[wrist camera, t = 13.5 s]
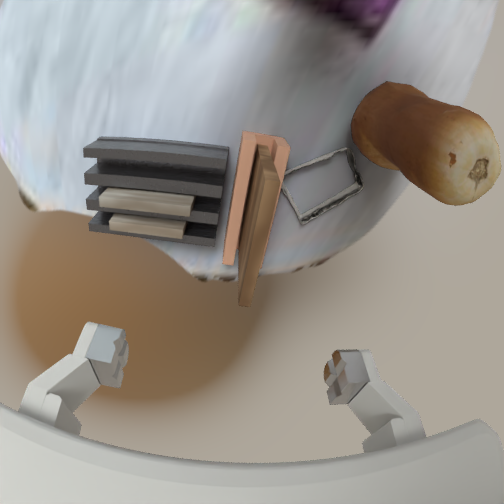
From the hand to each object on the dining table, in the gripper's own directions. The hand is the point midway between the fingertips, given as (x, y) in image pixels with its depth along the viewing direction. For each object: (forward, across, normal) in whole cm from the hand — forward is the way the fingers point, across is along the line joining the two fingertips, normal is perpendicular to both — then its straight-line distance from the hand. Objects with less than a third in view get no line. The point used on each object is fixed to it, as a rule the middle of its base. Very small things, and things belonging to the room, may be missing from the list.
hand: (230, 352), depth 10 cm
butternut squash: (+39, -22, -8) cm, 46 cm away
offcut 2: (+38, +12, +14) cm, 42 cm away
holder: (+39, -4, +10) cm, 41 cm away
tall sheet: (+38, -4, +10) cm, 39 cm away
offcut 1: (+38, +12, +10) cm, 41 cm away
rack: (+39, +12, +10) cm, 42 cm away
